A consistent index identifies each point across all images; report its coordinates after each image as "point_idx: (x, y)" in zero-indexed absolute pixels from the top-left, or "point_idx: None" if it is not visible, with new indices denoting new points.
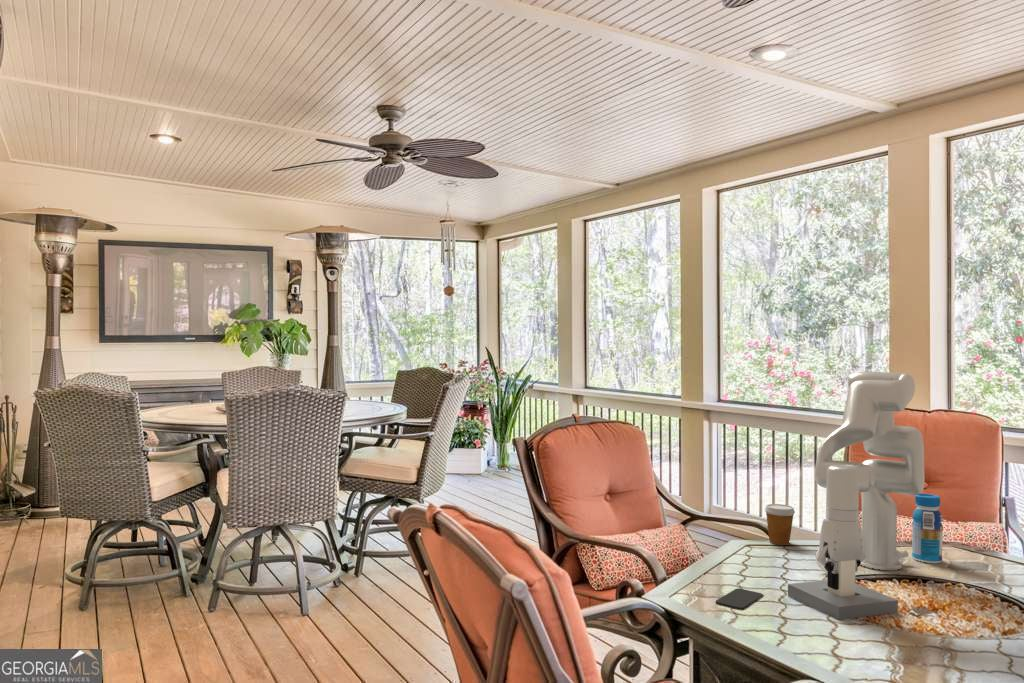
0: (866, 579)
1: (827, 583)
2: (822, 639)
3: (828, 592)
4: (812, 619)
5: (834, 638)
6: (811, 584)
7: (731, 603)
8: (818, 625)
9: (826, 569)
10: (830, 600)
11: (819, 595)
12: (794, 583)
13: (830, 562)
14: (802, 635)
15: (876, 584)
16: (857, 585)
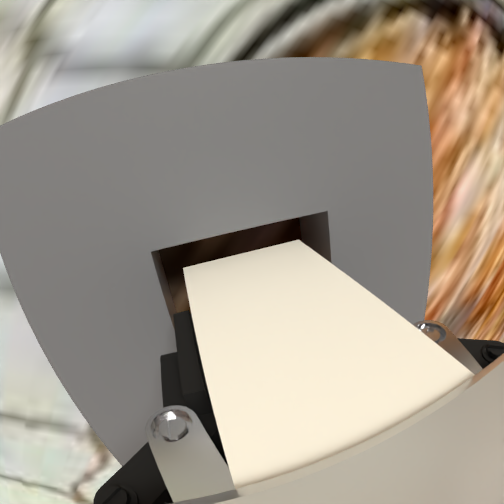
0: (490, 28)
1: (174, 320)
2: (51, 498)
3: (162, 323)
4: (39, 424)
5: (78, 500)
6: (126, 142)
7: None
8: (51, 456)
9: (145, 454)
10: (119, 425)
11: (85, 367)
12: (15, 122)
13: (217, 492)
14: (11, 479)
15: (496, 77)
16: (418, 198)
